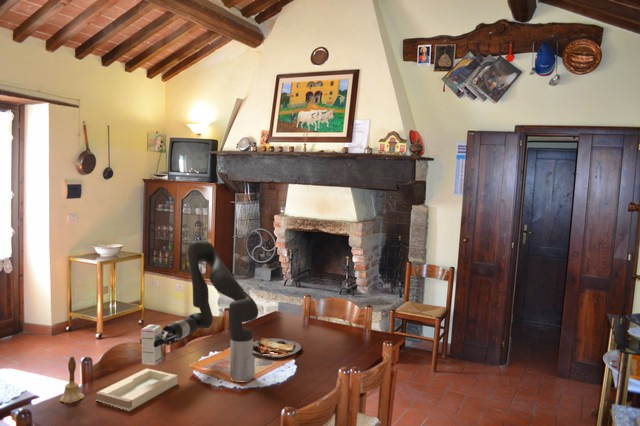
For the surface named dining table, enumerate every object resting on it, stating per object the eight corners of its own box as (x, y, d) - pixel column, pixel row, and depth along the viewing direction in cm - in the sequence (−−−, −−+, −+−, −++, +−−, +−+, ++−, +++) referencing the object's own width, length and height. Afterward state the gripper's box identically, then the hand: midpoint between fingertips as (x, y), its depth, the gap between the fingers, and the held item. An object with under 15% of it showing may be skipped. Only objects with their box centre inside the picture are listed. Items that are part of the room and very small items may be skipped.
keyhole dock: (146, 376, 209) (146, 368, 209) (177, 383, 203) (177, 375, 203) (96, 401, 186) (95, 392, 186) (128, 411, 179) (128, 401, 179)
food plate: (239, 354, 237) (239, 346, 237) (262, 339, 258) (263, 333, 258) (287, 364, 228) (287, 356, 227) (307, 348, 249) (307, 341, 249)
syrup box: (154, 365, 198) (154, 329, 196) (141, 363, 199) (140, 328, 198) (162, 360, 203) (162, 325, 202) (149, 358, 204) (149, 323, 203)
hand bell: (79, 391, 194) (78, 351, 193) (87, 399, 188) (86, 357, 187) (56, 398, 188) (55, 356, 187) (63, 406, 182) (62, 363, 181)
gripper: (163, 319, 216) (133, 331, 201) (189, 324, 210) (161, 336, 195) (163, 336, 216) (133, 349, 201) (189, 342, 210) (161, 355, 195)
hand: (147, 343), depth 198 cm, fingers closed on syrup box, 6 cm apart
